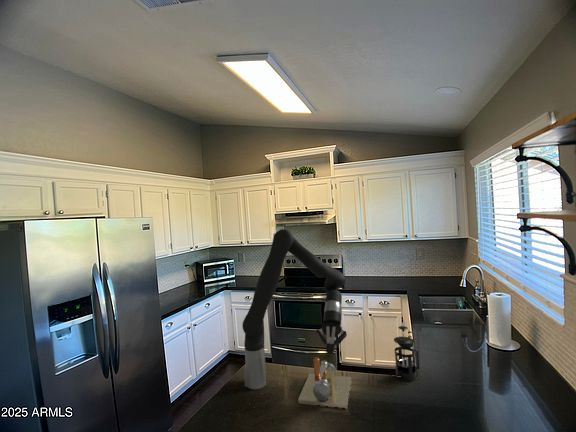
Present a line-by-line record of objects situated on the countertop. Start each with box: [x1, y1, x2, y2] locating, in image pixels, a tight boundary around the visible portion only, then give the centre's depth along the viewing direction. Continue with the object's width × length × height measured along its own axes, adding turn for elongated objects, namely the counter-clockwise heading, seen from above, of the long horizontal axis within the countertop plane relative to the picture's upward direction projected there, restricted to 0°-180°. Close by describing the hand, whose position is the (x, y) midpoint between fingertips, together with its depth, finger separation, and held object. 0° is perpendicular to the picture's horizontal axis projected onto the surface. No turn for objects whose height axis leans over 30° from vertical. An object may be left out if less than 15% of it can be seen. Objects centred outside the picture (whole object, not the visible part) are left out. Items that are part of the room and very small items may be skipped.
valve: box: [297, 362, 352, 410], centre depth 134 cm, size 20×22×12 cm
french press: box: [393, 325, 420, 382], centre depth 143 cm, size 12×9×23 cm
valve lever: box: [313, 356, 328, 384], centre depth 126 cm, size 17×3×9 cm, turn 163°
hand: (330, 354), depth 119 cm, fingers closed
